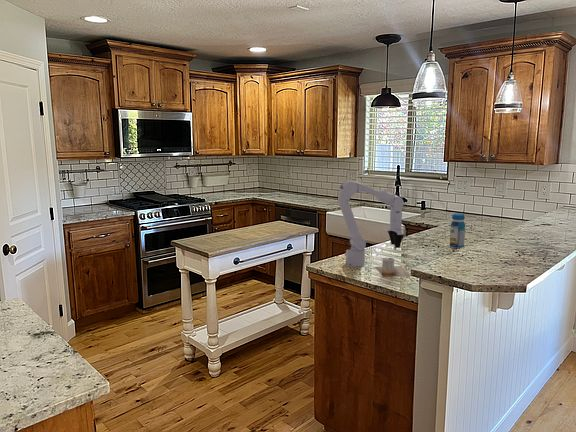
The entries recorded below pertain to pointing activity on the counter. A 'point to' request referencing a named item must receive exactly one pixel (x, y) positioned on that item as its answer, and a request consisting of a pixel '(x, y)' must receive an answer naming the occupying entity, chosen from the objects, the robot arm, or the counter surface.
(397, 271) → the board
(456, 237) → the beverage bottle
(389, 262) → the cap
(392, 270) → the jar
